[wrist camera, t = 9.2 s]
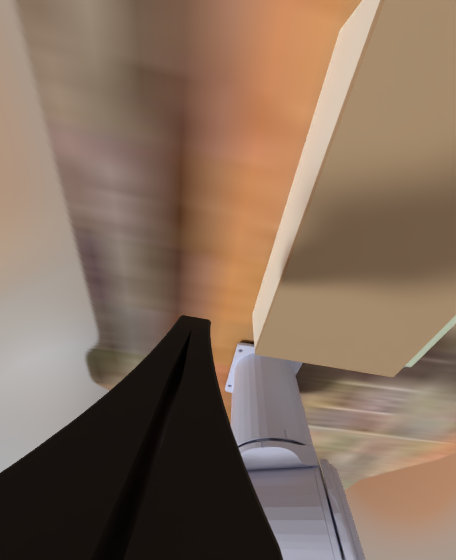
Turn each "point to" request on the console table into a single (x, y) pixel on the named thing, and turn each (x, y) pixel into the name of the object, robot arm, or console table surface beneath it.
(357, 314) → the beige flat box
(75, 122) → the console table surface
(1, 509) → the robot arm
